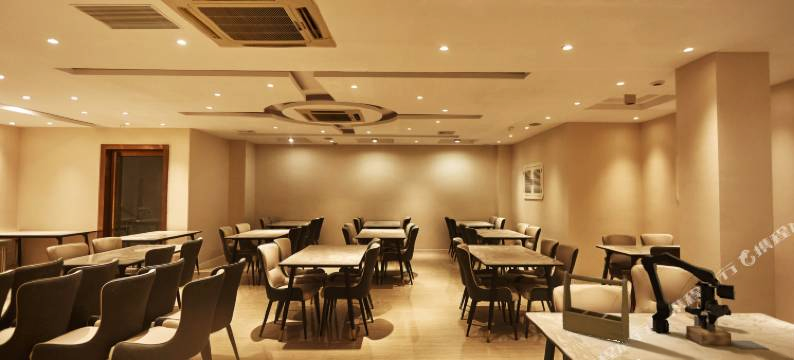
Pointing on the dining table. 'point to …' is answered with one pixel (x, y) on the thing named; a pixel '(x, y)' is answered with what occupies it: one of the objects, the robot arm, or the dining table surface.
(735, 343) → the mat
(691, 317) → the tan wooden bar
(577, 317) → the caddy
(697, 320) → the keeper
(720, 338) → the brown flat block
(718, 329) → the lid
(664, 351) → the dining table surface
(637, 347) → the dining table surface
